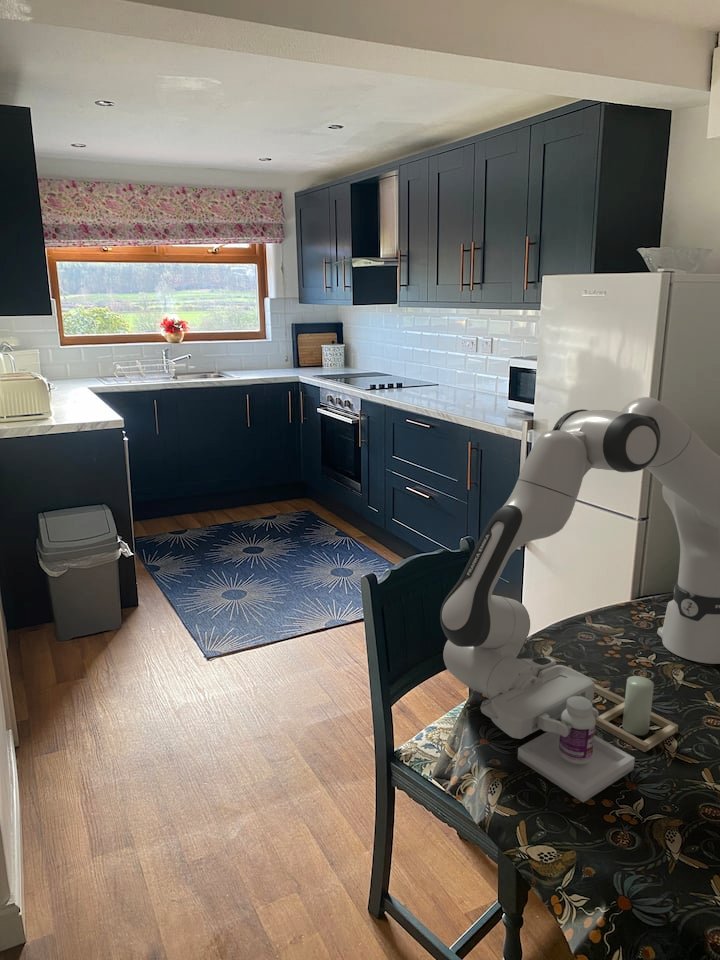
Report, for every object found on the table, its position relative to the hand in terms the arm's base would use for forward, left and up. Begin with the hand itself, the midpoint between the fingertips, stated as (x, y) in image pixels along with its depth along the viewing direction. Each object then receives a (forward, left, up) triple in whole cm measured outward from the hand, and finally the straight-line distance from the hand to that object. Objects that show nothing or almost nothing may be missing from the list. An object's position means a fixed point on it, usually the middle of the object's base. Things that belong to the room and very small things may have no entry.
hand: (582, 724), depth 114 cm
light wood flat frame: (-17, -5, -8) cm, 20 cm away
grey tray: (0, -1, -8) cm, 8 cm away
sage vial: (-17, -1, -8) cm, 19 cm away
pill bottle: (0, -1, -6) cm, 6 cm away
